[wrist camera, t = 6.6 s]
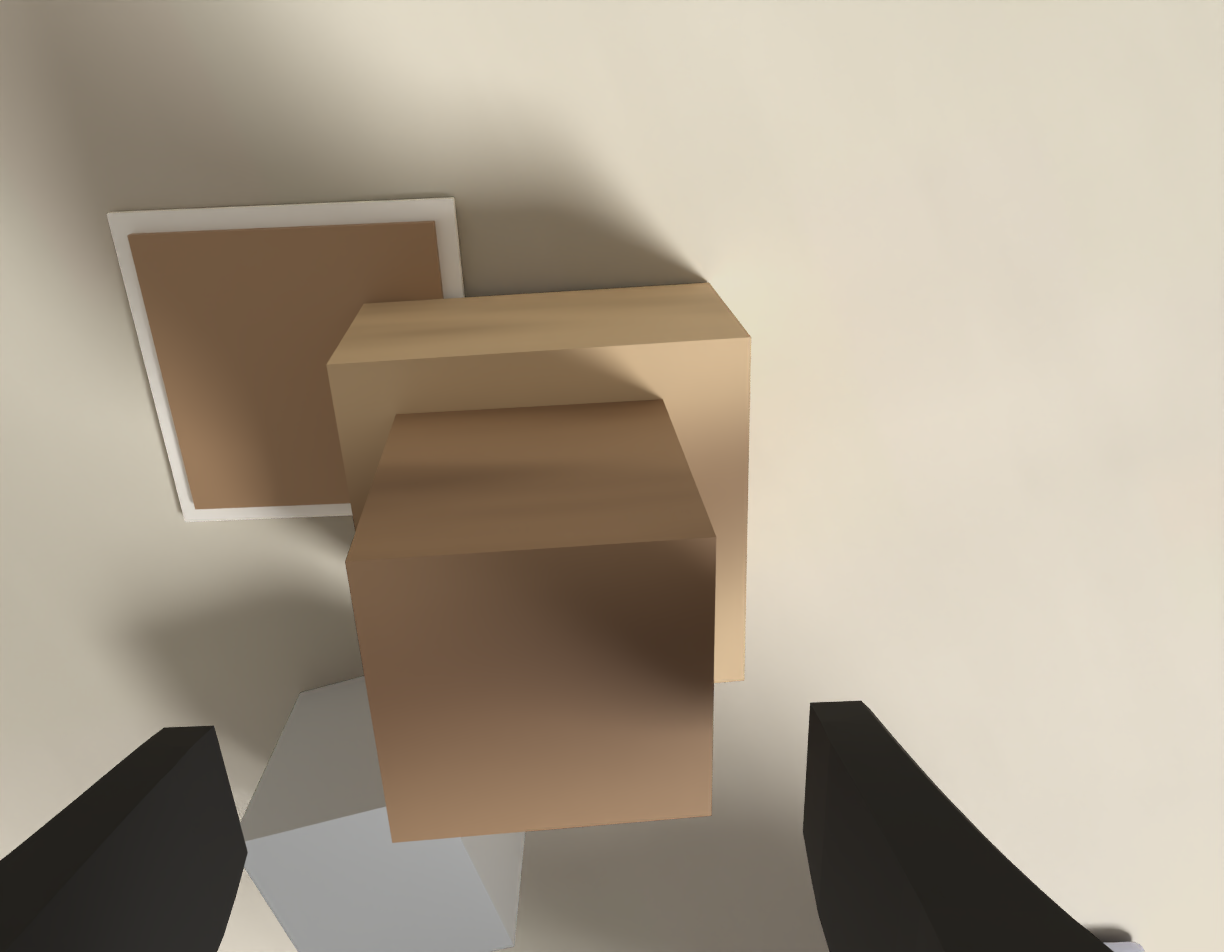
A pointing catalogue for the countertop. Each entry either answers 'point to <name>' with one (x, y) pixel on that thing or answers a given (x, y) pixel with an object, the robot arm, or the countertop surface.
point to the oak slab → (567, 389)
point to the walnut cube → (536, 620)
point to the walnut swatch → (268, 336)
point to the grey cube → (366, 847)
